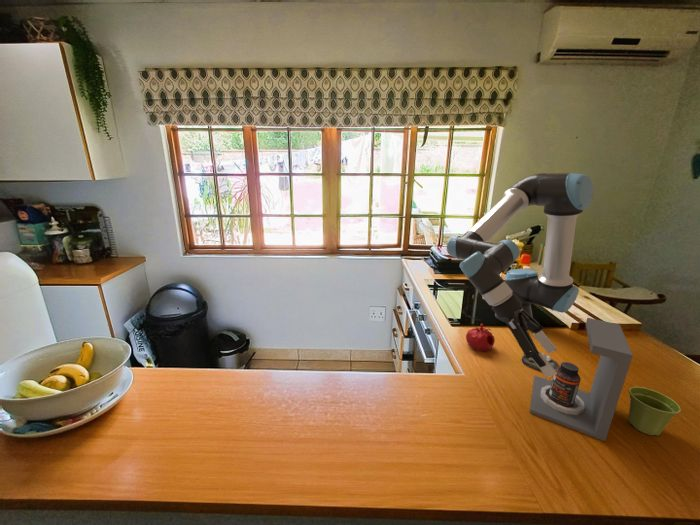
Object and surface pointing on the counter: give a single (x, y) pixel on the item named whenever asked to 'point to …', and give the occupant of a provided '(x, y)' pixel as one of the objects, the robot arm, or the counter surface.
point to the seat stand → (601, 402)
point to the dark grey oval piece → (532, 364)
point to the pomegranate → (480, 338)
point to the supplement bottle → (565, 384)
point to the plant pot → (650, 410)
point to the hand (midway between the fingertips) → (552, 362)
